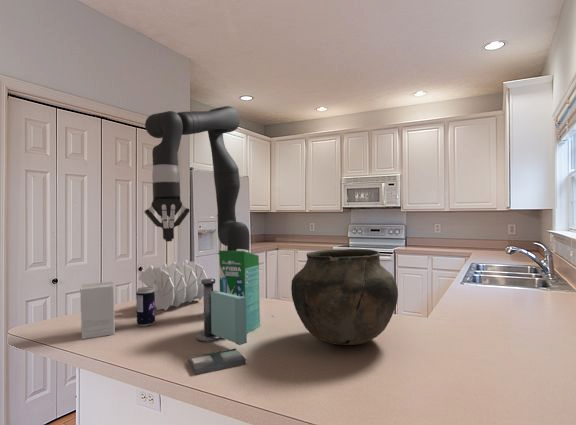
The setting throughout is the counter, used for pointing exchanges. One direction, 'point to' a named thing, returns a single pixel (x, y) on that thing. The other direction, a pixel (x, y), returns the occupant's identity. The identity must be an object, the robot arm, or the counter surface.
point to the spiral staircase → (174, 283)
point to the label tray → (216, 361)
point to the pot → (344, 295)
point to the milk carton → (242, 281)
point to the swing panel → (228, 317)
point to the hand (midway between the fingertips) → (168, 241)
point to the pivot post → (207, 312)
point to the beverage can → (145, 306)
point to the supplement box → (97, 310)
